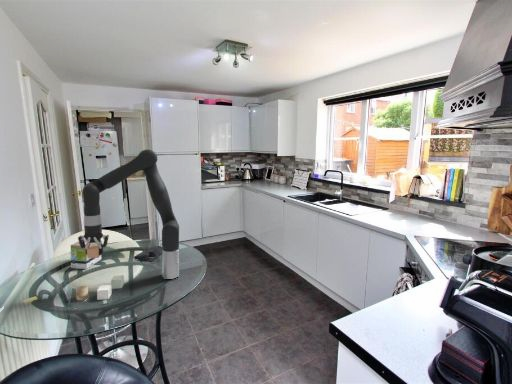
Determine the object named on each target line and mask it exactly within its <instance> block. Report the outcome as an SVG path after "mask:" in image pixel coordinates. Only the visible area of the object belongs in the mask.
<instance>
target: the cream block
mask: <svg viewBox="0 0 512 384" xmlns="http://www.w3.org/2000/svg"><path fill="white" fill-rule="evenodd" d="M112 291H113V289H112V288H111V284H102V285H101V284H100V286H98V288H97V290H96V300H97V301H99V300H109V299H110V298H111V295H112Z"/></svg>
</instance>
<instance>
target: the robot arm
mask: <svg viewBox="0 0 512 384" xmlns="http://www.w3.org/2000/svg"><path fill="white" fill-rule="evenodd" d="M158 159H159V158H158V154H157V153H156V152H155V151H154V150H152V149H143V150H142V151H141V150H140V152H139V153H138V155H137V156H136V157H135V158H133V159H131V160H130V161H129V162H127V163H125V164H123V165H121V166H119V167H116V168H115V169H112V170H111V171H109V172H107V173H105V174H104V175H102V176H101V177H99V178H97V179H94V180H92V181H91V182H90V181H89V182H87V184H85V185H84V186H83V188H82V199H83V200H82V201H83V226H84V227H83V228H84V230H83V231H84V234H83V235H79V236H78V237H77V240H78V241H79V243H80V246H81V248H85V249H86V255H87V248H88V247H89V246H90V243H96V244H97V245H98V247H99V255H101V256H102V255H103V253H104V248H106V247H107V245H108V241H109V237H110V235H109V234H106V235H105V234H103V227H102V214H101V205H100V201H101V199H100V198H101V197H100V194H101V193H102V192H104V191H106V190H107V189H109V190H110V189H112V188H114V187H115V186H117V185H119V184H120V183H122V182H124V180H127V178H128V179H129V177H131V176H132V175H134V174H136V173H138V172H139V171H143V174H144V175H145V181H146V184H147V189H148V191H149V196H150V199H151V201H152V203H153V206H154V208H155V209H156V210H157V212H158V214H159V215H160V216H159V217H160V219H161V224H162V229H161V247H162V253H161V255H162V256H161V257H162V262H161V264H162V265H161V267H162V269H161V271H162V272H161V278H162V277H163V278H166V279H173V278H176V277H178V276H180V225H179V223H178V220H177V218H176V216H175V213H174V211H173V208H172V207H173V206H172V202H171V199H170V196H169V192H168V190H167V186H166V184H165V182H164V180H163V179H162V177H161V174H160V173H159V169H158V166H157V162H158ZM84 238H85V239H86V240H87V243H86V245H85V242H84ZM102 239H103V241H102ZM163 278H162V279H163ZM178 278H179V277H178ZM176 279H177V278H176ZM173 280H174V279H173Z"/></svg>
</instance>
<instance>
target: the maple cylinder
mask: <svg viewBox="0 0 512 384" xmlns="http://www.w3.org/2000/svg"><path fill="white" fill-rule="evenodd" d="M88 298H89V287H88V286H87V285H82V286H78V287H76V288H75V299H76V301H79V302H82V301H86V300H87V299H88Z"/></svg>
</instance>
